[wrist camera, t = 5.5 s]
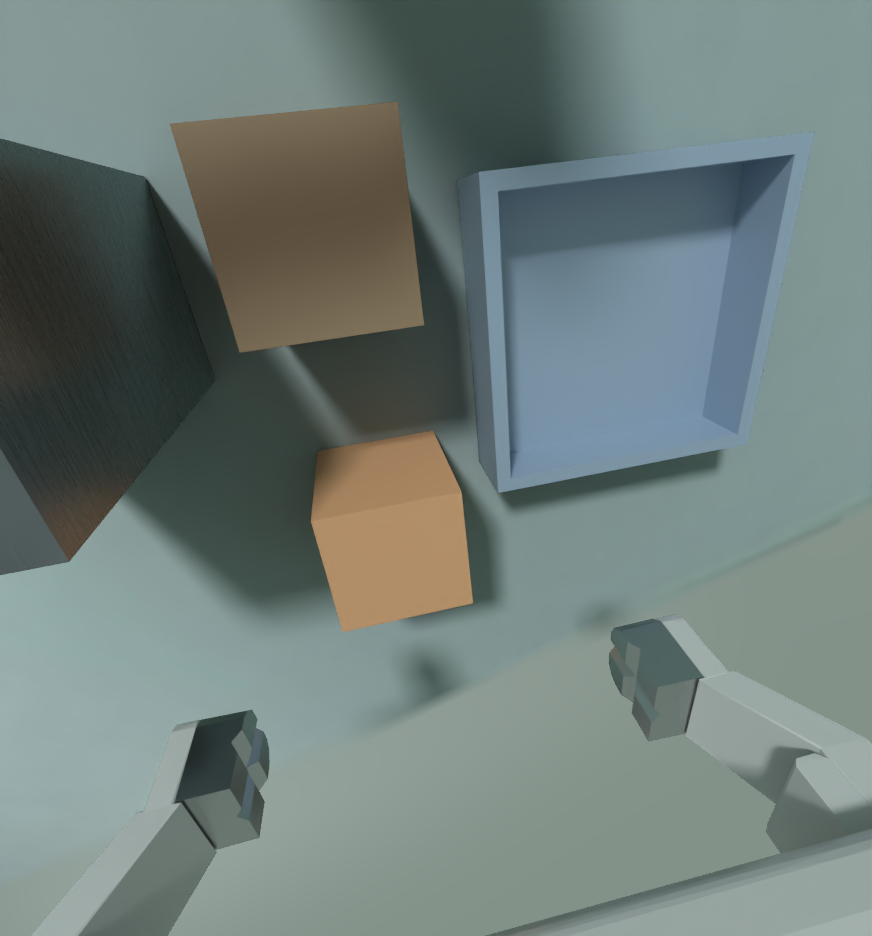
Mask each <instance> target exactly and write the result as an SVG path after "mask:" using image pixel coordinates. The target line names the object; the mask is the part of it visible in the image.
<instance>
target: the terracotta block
mask: <svg viewBox="0 0 872 936" xmlns="http://www.w3.org/2000/svg"><path fill="white" fill-rule="evenodd" d="M311 523H312V527H313V530H314V534H315V537H316V541H317V544H318V548H319V551H320V555H321V558H322V562H323V565H324V569H325V572H326V576H327V579H328V582H329V586H330V589H331V593H332V596H333V600H334V603H335V607H336V610H337V614H338V617H339V621H340V624H341V628H342V631H343V632H346V631H350V630H355V629H359V628H364V627H368V626H373V625H377V624H382V623H386V622H391V621H395V620H400V619H404V618H409V617H413V616H418V615H422V614H427V613H431V612H436V611H440V610H445V609H450V608H454V607H459V606H463V605H468V604H472V603H473V598H472V588H471V578H470V568H469V559H468V549H467V539H466V530H465V520H464V510H463V500H462V492H461V490H460V487H459V485H458V483H457V481H456V479H455V477H454V475H453V472H452V470H451V468H450V466H449V464H448V462H447V459H446V457H445V455H444V453H443V451H442V449H441V447H440V444H439V442H438V440H437V438H436V436H435V434H434V432H433V430H431V431H426V432H420V433H415V434H409V435H403V436H398V437H392V438H387V439H381V440H376V441H370V442H364V443H359V444H353V445H348V446H342V447H337V448H331V449H325V450H320V451H318V452H317V462H316V473H315V483H314V494H313V505H312V515H311Z"/></svg>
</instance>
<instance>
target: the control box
mask: <svg viewBox="0 0 872 936" xmlns="http://www.w3.org/2000/svg"><path fill="white" fill-rule="evenodd" d="M214 382H215V379H214V377H213V374H212V371H211V368H210V365H209V362H208V359H207V356H206V353H205V350H204V347H203V345H202V342H201V339H200V336H199V333H198V330H197V327H196V324H195V321H194V318H193V315H192V313H191V310H190V307H189V304H188V301H187V298H186V295H185V292H184V289H183V286H182V283H181V281H180V278H179V275H178V272H177V269H176V266H175V263H174V260H173V257H172V254H171V252H170V249H169V246H168V243H167V240H166V237H165V234H164V231H163V228H162V225H161V222H160V220H159V217H158V214H157V211H156V208H155V205H154V202H153V199H152V196H151V193H150V190H149V188H148V185H147V182H146V179H145V177H144V176H140V175H136V174H132V173H128V172H125V171H121V170H117V169H113V168H110V167H106V166H102V165H98V164H94V163H91V162H87V161H83V160H79V159H76V158H72V157H68V156H64V155H61V154H57V153H53V152H49V151H45V150H42V149H38V148H34V147H30V146H27V145H23V144H19V143H15V142H11V141H8V140H4V139H0V575H3V574H8V573H13V572H19V571H24V570H29V569H34V568H39V567H44V566H50V565H55V564H60V563H65V562H69V561H70V560H71V559H72V557H73V556H74V555H75V554H76V553H77V551H78V550H79V549H80V548H81V546H82V545H83V544H84V543H85V541H86V540H87V539H88V538H89V536H90V535H91V534H92V533H93V531H94V530H95V529H96V528H97V527H98V525H99V524H100V523H101V522H102V520H103V519H104V518H105V517H106V515H107V514H108V513H109V512H110V510H111V509H112V508H113V507H114V505H115V504H116V503H117V502H118V501H119V499H120V498H121V497H122V496H123V494H124V493H125V492H126V491H127V489H128V488H129V487H130V486H131V484H132V483H133V482H134V481H135V479H136V478H137V477H138V476H139V475H140V473H141V472H142V471H143V470H144V468H145V467H146V466H147V465H148V463H149V462H150V461H151V460H152V458H153V457H154V456H155V455H156V453H157V452H158V451H159V450H160V449H161V447H162V446H163V445H164V444H165V442H166V441H167V440H168V439H169V437H170V436H171V435H172V434H173V432H174V431H175V430H176V429H177V427H178V426H179V425H180V424H181V423H182V421H183V420H184V419H185V418H186V416H187V415H188V414H189V413H190V411H191V410H192V409H193V408H194V406H195V405H196V404H197V403H198V401H199V400H200V399H201V398H202V397H203V395H204V394H205V393H206V392H207V390H208V389H209V388H210V387H211V385H212V384H213V383H214Z"/></svg>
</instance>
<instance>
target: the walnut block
mask: <svg viewBox="0 0 872 936" xmlns="http://www.w3.org/2000/svg"><path fill="white" fill-rule="evenodd" d="M170 126H171V129H172V132H173V136H174V139H175V142H176V146H177V149H178V152H179V155H180V159H181V162H182V165H183V169H184V172H185V175H186V178H187V182H188V185H189V188H190V191H191V195H192V198H193V201H194V205H195V208H196V211H197V214H198V218H199V221H200V224H201V227H202V231H203V234H204V237H205V241H206V244H207V247H208V250H209V254H210V257H211V260H212V264H213V267H214V270H215V273H216V277H217V280H218V283H219V286H220V290H221V293H222V296H223V300H224V303H225V306H226V309H227V313H228V316H229V319H230V322H231V326H232V329H233V332H234V336H235V339H236V342H237V345H238V349H239V352H240V353H241V352H248V351H255V350H262V349H268V348H275V347H282V346H288V345H295V344H302V343H308V342H315V341H322V340H328V339H335V338H342V337H349V336H355V335H362V334H369V333H375V332H382V331H389V330H395V329H402V328H409V327H416V326H422V325H424V319H423V311H422V303H421V294H420V286H419V277H418V269H417V260H416V252H415V244H414V235H413V227H412V218H411V210H410V201H409V193H408V184H407V176H406V168H405V159H404V151H403V142H402V134H401V125H400V117H399V109H398V102H391V103H380V104H370V105H360V106H349V107H339V108H328V109H318V110H308V111H297V112H287V113H277V114H266V115H256V116H245V117H235V118H225V119H214V120H204V121H194V122H183V123H173V124H170Z"/></svg>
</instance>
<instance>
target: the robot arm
mask: <svg viewBox="0 0 872 936" xmlns="http://www.w3.org/2000/svg"><path fill="white" fill-rule="evenodd" d="M611 641H612V642H613V644H614V646H615V647H614V648H613V649H612V650H611V652H610V653H609V665H610V670H611V674H612V677H613V679H614V682H615V684H616V686H617V688H618V690H619V691H620V693H621V695H622V696H624V697H626V698H627V699H629V700H630V701H632V702H633V708H632V714H633V716H634V717H635V719H636V721H637V723H638V724H639V726H640V728H641V730H642V731H643V733H644V735H645V736H646V738H647V740H648V741H652V740H657V739H661V738H666V737H671V736H676V735H680V734H685V733H686V736H687V737H688V738H690V739H691V740H692V741H694V742H695V743H696V744H697V745H699V746H700V747H701V748H703V749H704V750H705V751H707V752H708V753H709V754H711V755H712V756H713V757H715V758H716V759H717V760H719V761H720V762H721V763H722V764H724V765H725V766H726V767H728V768H729V769H731V770H732V771H733V772H734V773H736V774H737V775H738V776H740V777H741V778H742V779H744V780H745V781H746V782H748V783H749V784H750V785H752V786H753V787H754V788H756V789H757V790H758V791H760V792H761V793H762V794H763V795H765V796H766V797H767V798H769V799H770V800H771V801H773V802H774V803H775V804H776V805H775V808H774V810H773V812H772V814H771V817H770V819H769V821H768V824H767V829H766V832H767V834H768V836H769V837H770V839H771V840H772V842H773V843H774V844H775V846H776V847H777V849H778V850H779V852H780V853H781V854H777V855H774V856H770V857H767V858H763V859H760V860H756V861H752V862H749V863H745V864H741V865H738V866H734V867H731V868H727V869H723V870H720V871H716V872H713V873H709V874H706V875H702V876H698V877H695V878H691V879H688V880H684V881H681V882H677V883H673V884H670V885H666V886H663V887H659V888H655V889H652V890H648V891H644V892H641V893H638V894H634V895H630V896H626V897H623V898H619V899H616V900H612V901H608V902H605V903H601V904H598V905H594V906H591V907H587V908H583V909H580V910H576V911H573V912H569V913H565V914H562V915H558V916H555V917H551V918H547V919H544V920H540V921H537V922H533V923H530V924H526V925H523V926H519V927H515V928H512V929H508V930H504V931H501V932H497V933H494V934H490V935H487V936H872V744H871V743H870V742H869V741H868V740H867V739H866V738H864V737H862V736H860V735H858V734H856V733H854V732H852V731H850V730H849V729H847V728H845V727H843V726H841V725H839V724H837V723H835V722H833V721H831V720H829V719H827V718H825V717H823V716H822V715H819V714H818V713H815V712H814V711H812V710H810V709H808V708H806V707H804V706H802V705H800V704H798V703H796V702H794V701H792V700H790V699H789V698H786V697H785V696H783V695H781V694H779V693H777V692H775V691H773V690H771V689H769V688H767V687H765V686H763V685H761V684H759V683H758V682H756V681H754V680H752V679H750V678H748V677H746V676H744V675H742V674H740V673H738V672H736V671H731V672H728V671H727V670H726V668H725V667H724V666H723V665H722V664H721V662H720V661H719V660H718V659H717V658H716V657H715V655H714V654H713V653H712V652H711V651H710V650H709V648H708V647H707V646H706V645H705V644H704V643H703V641H702V640H701V639H700V638H699V637H698V636H697V634H696V633H695V632H694V631H693V630H692V628H691V627H690V626H689V625H688V624H687V623H686V621H685V620H684V619H683V618H682V617H681V616H679V615H677V614H675V615H669V616H665V617H661V618H656V619H649V620H645V621H641V622H637V623H633V624H628V625H624V626H620V627H616V628H614V629H613V630H612V632H611ZM256 723H257V718H256V716H255V714H254V712H253V710H248V711H243V712H238V713H233V714H228V715H223V716H218V717H213V718H208V719H202V720H198V721H193V722H188V723H184V724H179V725H176V727H175V728H174V729H173V731H172V732H171V734H170V736H169V739H168V742H167V745H166V748H165V751H164V754H163V757H162V760H161V763H160V765H159V768H158V771H157V774H156V777H155V780H154V783H153V786H152V789H151V792H150V795H149V798H148V801H147V803H146V806H145V809H144V811H141V812H138V813H136V814H135V815H134V816H133V817H132V818H131V820H130V821H129V822H128V823H127V824H126V825H125V827H124V828H123V829H122V830H121V831H120V832H119V834H118V835H117V836H116V837H115V838H114V839H113V841H112V842H111V843H110V844H109V845H108V846H107V848H106V849H105V850H104V851H103V852H102V853H101V855H100V856H99V857H98V858H97V859H96V861H95V862H94V863H93V864H92V865H91V866H90V868H89V869H88V870H87V871H86V872H85V873H84V875H83V876H82V877H81V878H80V879H79V880H78V882H77V883H76V884H75V885H74V886H73V888H72V889H71V890H70V891H69V892H68V893H67V894H66V896H65V897H64V898H63V899H62V900H61V901H60V903H59V904H58V905H57V906H56V907H55V908H54V910H53V911H52V912H51V913H50V914H49V916H48V917H47V918H46V919H45V920H44V921H43V922H42V924H41V925H40V926H39V927H38V928H37V930H36V931H35V932H34V933H33V934H32V935H31V936H168V934H169V932H170V931H171V929H172V927H173V926H174V924H175V922H176V921H177V919H178V917H179V915H180V914H181V912H182V910H183V909H184V907H185V905H186V904H187V902H188V900H189V898H190V897H191V895H192V893H193V892H194V890H195V888H196V887H197V885H198V883H199V881H200V880H201V878H202V876H203V875H204V873H205V871H206V869H207V868H208V866H209V865H210V863H211V861H212V859H213V858H214V856H215V854H216V851H215V850H217V849H221V848H224V847H228V846H231V845H235V844H238V843H242V842H245V841H249V840H253V839H257V838H259V835H260V829H261V822H262V814H263V808H264V800H263V798H262V796H261V794H260V792H259V790H260V789H261V787H262V786H263V785H264V783H265V781H266V780H267V779H268V772H269V747H268V742H267V738H266V736H265V734H264V732H263V731H261V730H259V729H257V728H256Z"/></svg>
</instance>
